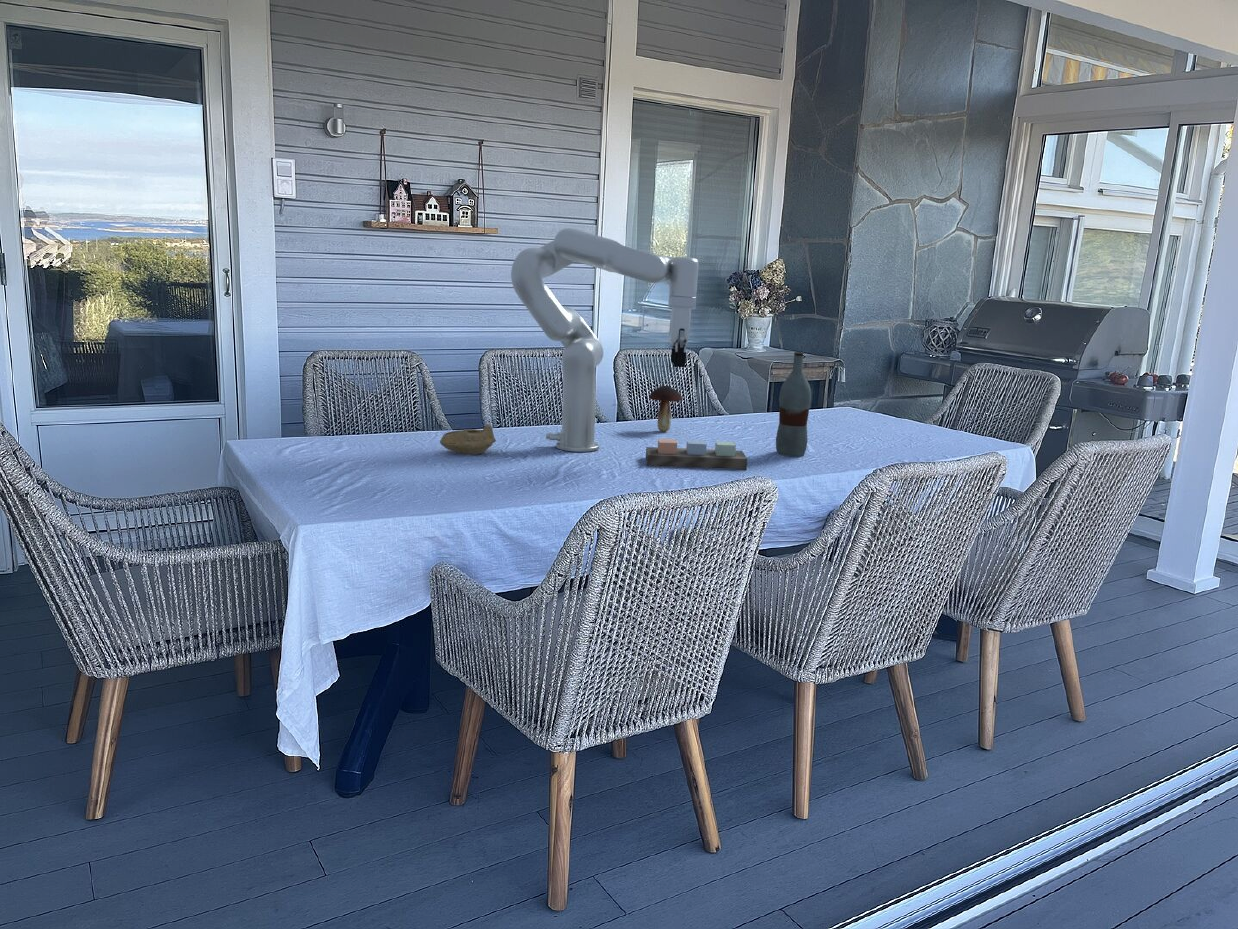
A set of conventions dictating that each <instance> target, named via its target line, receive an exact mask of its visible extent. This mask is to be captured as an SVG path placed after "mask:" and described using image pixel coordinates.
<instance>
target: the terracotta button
mask: <svg viewBox="0 0 1238 929" xmlns="http://www.w3.org/2000/svg"><path fill="white" fill-rule="evenodd" d="M657 447H658V450H657V453H660V454H677V448H678V441H677V439H667V438H664V439H663V438H658V439H657Z"/></svg>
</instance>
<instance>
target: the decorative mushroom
mask: <svg viewBox="0 0 1238 929" xmlns="http://www.w3.org/2000/svg"><path fill="white" fill-rule="evenodd" d="M682 396H683V395H681V393H680V392H679V391H677V390H676V389H675V388H673V387H671V386H669V385H661V386H659V387H657V388H655V389H654V390H653V391H652V392H650V394H649V396H648V399H650V400H654V401H660V403H659V407H658V414H657V422H656V423H657V429H658V430H659V432H663V433H665V432H668V431H669V430H670V429H671V416H672V415H671V414H672V413H671V406H670V402H680V401H681V402H682V401H683V399H684V398H683V397H682Z"/></svg>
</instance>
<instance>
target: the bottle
mask: <svg viewBox="0 0 1238 929" xmlns="http://www.w3.org/2000/svg"><path fill="white" fill-rule="evenodd" d="M804 353H805V352H802V351H794V353H793V354H794V355H793V364H792V371H791V372H790V373H789V375H788V376H787V378H786V380H784V382H782V385H781V388H780V391H779V397H778V402H779V404H778V406H779V408H778V410H779V412H778V413H779V414H778V415H779V416H778V417H779V418H778V419H779V420H778V421H779V422H778V427H777V432H776V437H775V449H776V453H777V454H778V455H781V456H786V457H804V455H805V453H806V451H807V446H808V443H809V442H808V426H807V425H808V418H809V413H810V407H811V403H812V390H811V385H810V383H809V382H808V380H807V378H806V376H805V373H804V372H803V361H804Z"/></svg>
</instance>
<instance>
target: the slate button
mask: <svg viewBox="0 0 1238 929" xmlns="http://www.w3.org/2000/svg"><path fill="white" fill-rule="evenodd" d="M685 449H686V454H687V455H706V449H707V443H706V441H705V440H698V439H697V440H696V439H695V440H692V439H687V440H686V446H685Z"/></svg>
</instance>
